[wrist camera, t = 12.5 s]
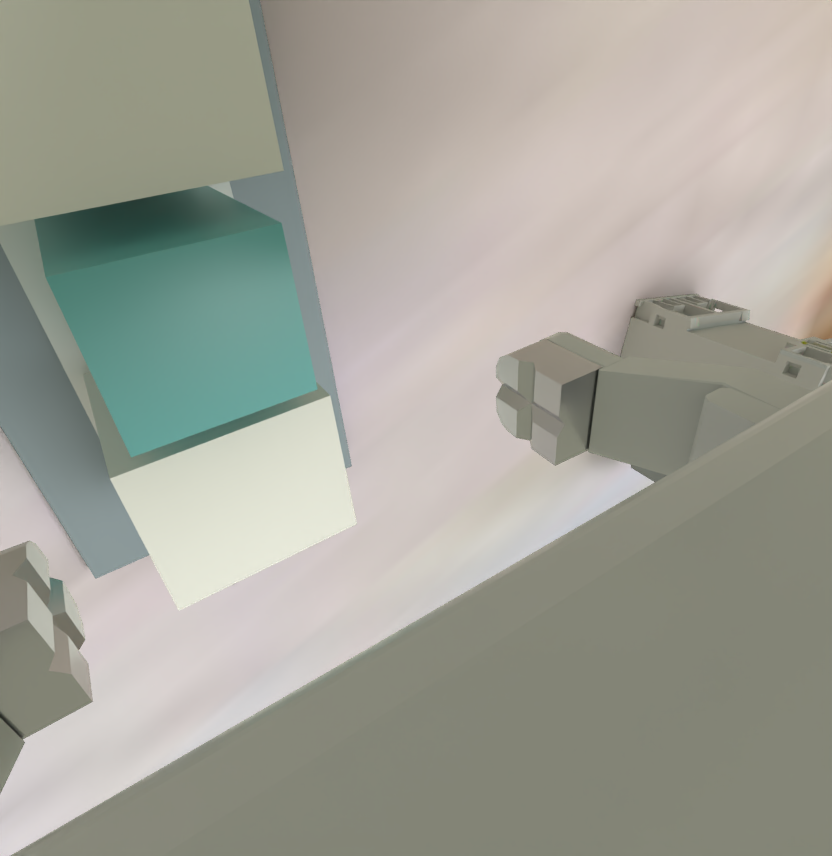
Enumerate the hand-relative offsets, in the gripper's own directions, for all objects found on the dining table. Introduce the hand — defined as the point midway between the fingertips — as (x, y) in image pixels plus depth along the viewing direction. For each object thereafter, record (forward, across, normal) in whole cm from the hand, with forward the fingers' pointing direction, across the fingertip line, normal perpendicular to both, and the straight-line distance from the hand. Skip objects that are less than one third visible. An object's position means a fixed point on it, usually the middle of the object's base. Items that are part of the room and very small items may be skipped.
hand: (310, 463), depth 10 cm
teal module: (+16, 0, 0) cm, 16 cm away
